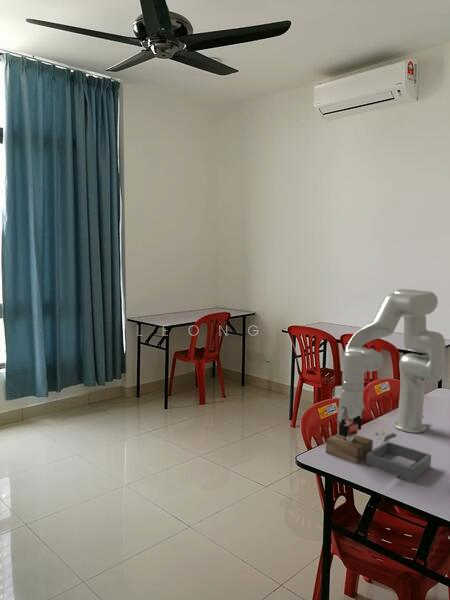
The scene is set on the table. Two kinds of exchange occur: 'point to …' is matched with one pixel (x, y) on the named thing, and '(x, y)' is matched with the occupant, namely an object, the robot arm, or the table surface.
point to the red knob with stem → (351, 430)
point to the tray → (401, 470)
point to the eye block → (349, 447)
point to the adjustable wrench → (383, 435)
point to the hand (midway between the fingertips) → (350, 432)
